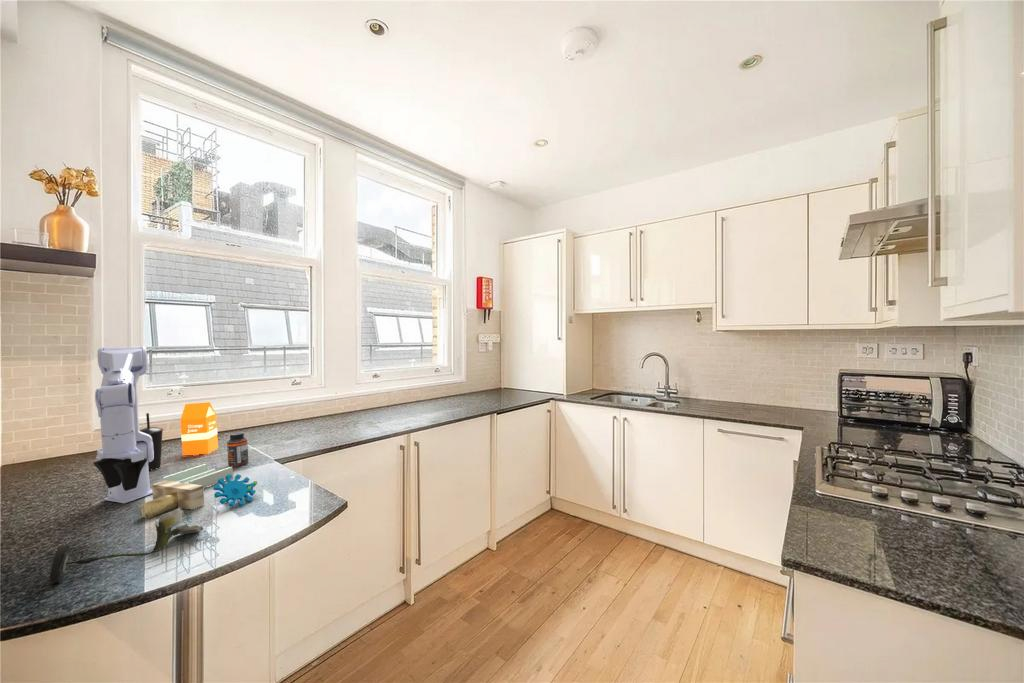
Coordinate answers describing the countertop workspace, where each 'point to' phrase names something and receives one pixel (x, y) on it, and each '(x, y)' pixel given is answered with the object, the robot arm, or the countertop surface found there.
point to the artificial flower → (163, 537)
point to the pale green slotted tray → (199, 475)
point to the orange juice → (198, 429)
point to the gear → (234, 490)
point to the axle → (159, 505)
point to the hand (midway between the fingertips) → (122, 487)
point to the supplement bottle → (237, 449)
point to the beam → (180, 493)
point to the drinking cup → (154, 443)
